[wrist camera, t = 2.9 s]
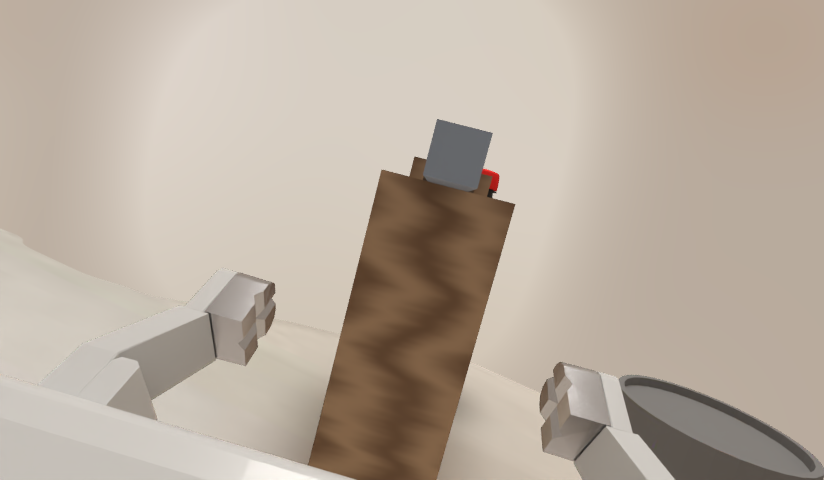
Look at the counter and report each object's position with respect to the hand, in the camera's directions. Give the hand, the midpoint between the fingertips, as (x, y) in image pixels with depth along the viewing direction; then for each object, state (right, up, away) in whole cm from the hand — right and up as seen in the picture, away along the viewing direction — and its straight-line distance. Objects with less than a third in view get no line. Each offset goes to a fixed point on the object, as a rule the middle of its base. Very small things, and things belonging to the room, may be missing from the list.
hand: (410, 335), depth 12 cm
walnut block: (-3, -18, +29) cm, 34 cm away
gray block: (+3, +7, +20) cm, 22 cm away
